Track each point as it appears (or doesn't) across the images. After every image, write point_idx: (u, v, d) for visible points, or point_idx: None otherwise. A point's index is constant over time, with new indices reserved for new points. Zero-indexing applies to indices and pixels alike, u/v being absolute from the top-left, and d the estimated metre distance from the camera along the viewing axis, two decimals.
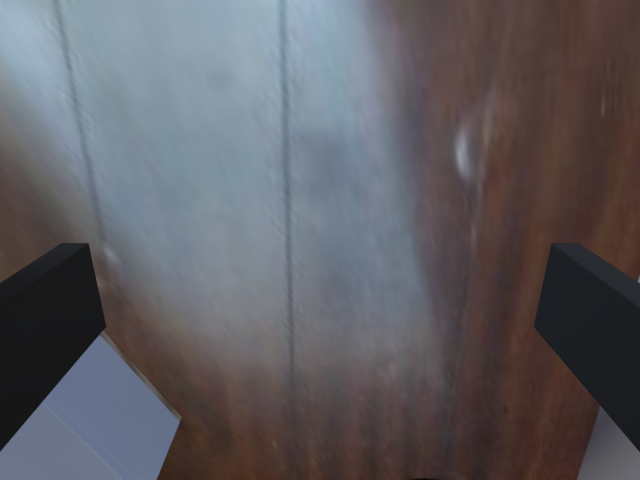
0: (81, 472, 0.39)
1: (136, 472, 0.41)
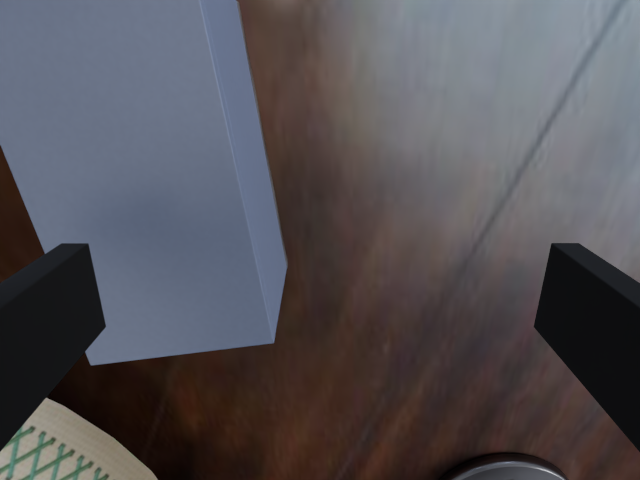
0: (202, 248, 0.22)
1: (268, 291, 0.24)
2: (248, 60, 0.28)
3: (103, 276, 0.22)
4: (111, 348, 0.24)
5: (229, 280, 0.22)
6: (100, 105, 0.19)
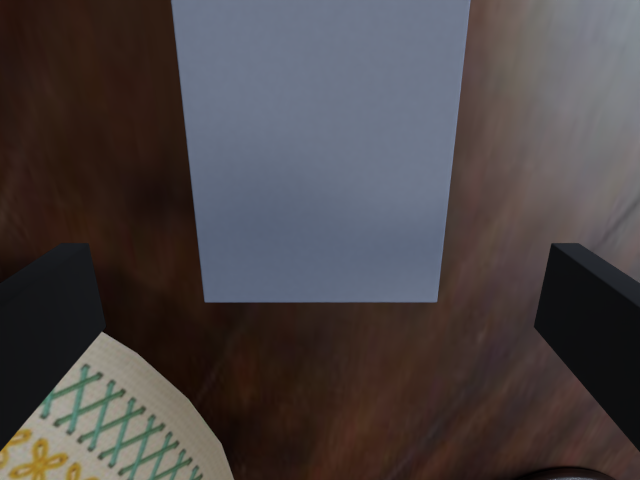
0: (388, 168, 0.17)
1: None
2: None
3: (254, 188, 0.18)
4: (237, 283, 0.19)
5: (408, 215, 0.18)
6: None
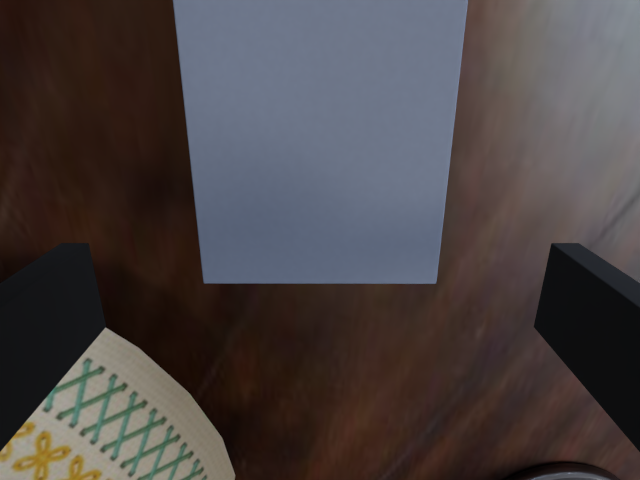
0: (388, 147, 0.17)
1: None
2: None
3: (253, 167, 0.17)
4: (236, 264, 0.19)
5: (407, 195, 0.18)
6: None
